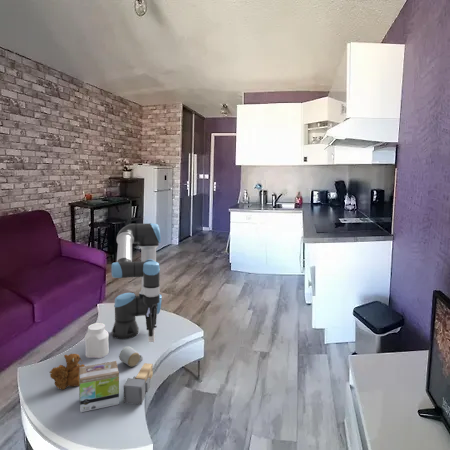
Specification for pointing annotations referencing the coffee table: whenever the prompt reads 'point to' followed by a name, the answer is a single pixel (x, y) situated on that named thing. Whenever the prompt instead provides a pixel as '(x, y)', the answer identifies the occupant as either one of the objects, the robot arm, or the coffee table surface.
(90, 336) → the jar
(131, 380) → the gray bracket pieces
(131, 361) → the ceramic mug
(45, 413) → the coffee table surface
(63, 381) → the stuffed squirrel
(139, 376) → the tan rectangular block
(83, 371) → the tea box
